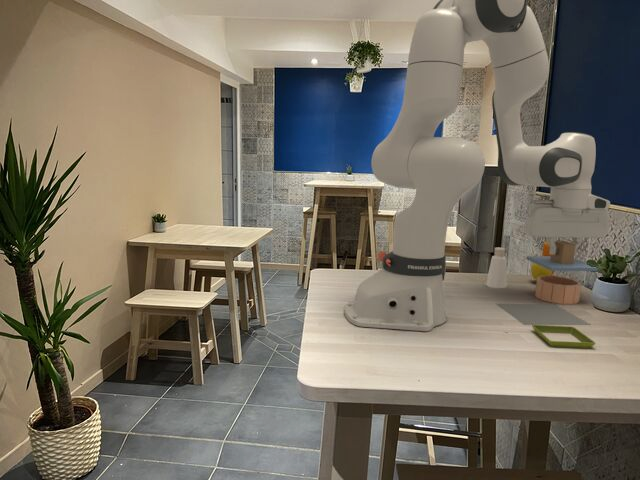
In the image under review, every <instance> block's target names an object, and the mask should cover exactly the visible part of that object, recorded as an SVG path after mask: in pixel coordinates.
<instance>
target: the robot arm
mask: <svg viewBox="0 0 640 480" xmlns="http://www.w3.org/2000/svg"><path fill="white" fill-rule="evenodd" d="M414 27H415V28H414V31H413V34H412V38H411V43H410V48H409V53H408V59H407V60H408V61H407V69H406V75H405V76H406V78H405V86H404V93H403V99H402V105H401V107H400V111H399V114H398V116H397V119H396V121H395V124H394V125H393V127H391V128H392V129H391V130H390V132H389V133H388V135H387V136H386V137H385V138H383V140H382V141H381V142H380V143H378V144H377V146H375V149H374V151H373V153H372V155H371V170H372V174H373V176H374V177H375V179H376V180H378V181H379V182H380V183H383V184H385V185H388V186H390V187H394V188H399V189H400V188H401V189H409V190H411V189H412V190H415V191H416V192H415V195H414V197H413V198H414V199H413V201H412V203H411V204H410V205H409V207H406V208H405V209H403V210H401V211H400V212H399V213H398V214H397V215H396V216H395V218H394V221H393V222H394V223H393V237H392V238H393V239H392V251H390V252H389V253H386V252H385V251H383V250H381V251H379V252H378V253H377V258H378V260H379V261H380V262H382V268H380V270H378V271H376V272H375V273H374V274H372V275H371V276H370V277H369V276H368V278H367V279H365V280H363V281H362V282H360V284H359V285H358V287H357V289H356V291H355V292H356V293H355V297H354V301H348V302H347V303H346V304H345V306H344V309H343V310H344V312H343V313H344V316H345V318H346V319H347V321H349V322H350V323H351V324H353V325H355V326H356V327H364V328H377V329H391V330H402V331H403V330H405V331H406V330H407V331H419V332H430V331H431V330H433V328H434V327H437V326H440V325H443V324H444V323H446V321H447V319H448V318H447V314H446V308H445V302H444V284H443V283H444V281H445V275H446V268H447V261H446V259H447V256H446V254H445V249H446V240H447V239H446V238H447V231H448V225H449V221H450V218H451V215H452V214H453V213H452V212H453V211H454V210H455V209H454V208H455V207H456V205H457V204H458V202H459V201H460V200H461V199H462V197H463V196H464V195H466V194H467V193H468V192H469V191H471V190H472V189H474V188H475V187H476V186H477V185H478V184H479V182H480V181H481V180H482V178H483V175H484V173H485V167H486V166H485V165H486V160H485V156H484V153H483V150H482V148H481V147H480V146H479V144H478V143H477V142H475V141H471V140H468V139H463V138H461V137H455V136H441V137H440V136H435V133H436V131H437V129H438V127H439V125H440V124H441V123H442V122H443V121H444V120H446V119H447V118H448V117H450V116H452V115H453V114H454V113H455V111H456V110H457V108H458V106H459V103H460V95H461V88H462V86H461V85H462V79H463V70H464V58H465V56H464V55H465V48H466V45H467V44H468V43H471V42H478V41H481V40H482V41H483V43H485V45H486V46H487V47H488V53H489V58H490V63H491V67H492V72H493V76H494V91H493V93H492V97H491V108H492V114H493V115H492V116H493V122H494V129H495V137H496V143H497V172H498V175H499V177H500V178H501V180H502V181H503V182H504V183H505V184H506V185H509V186H514V187H515V186H518V187H519V186H529V187H538V188H539V187H542V188H543V187H545V188H550V193H549V199H534V200H532V201H531V202H530V203H529V204H528V205H527V208H526V209H527V215H526V218H525V222H524V227H523V233H524V234H525V235H526V236H528V237H531V238H546V241H547V242H548V244H549V246H550V254H551V255H559V249H560V248H557V247H556V245H555V243H554V242H556V241H558V238H560V239H561V238H563V239H564V238H565V239H567V238H569V239H571V241H572V244H575V245H576V247H575V254H574V256H576V255H577V249H578V248H579V247H580V245H581V244H582V243H583V238H584V239H604V238H605V237H606V236H607V235H608V234H609V229H610V217H611V216H610V212H609V211H608V209H610V206H611V201H610V200H608V199H605V198H603V197H600V196H597V195H594V194H592V176H593V174H594V172H595V166H596V155H597V154H596V152H597V151H596V150H597V149H596V141H595V137H593V136H592V135H590V134H587V133H583V132H577V131H569V132H567V131H565V132H563V133H561V134H560V135H559V137H558V138H557V139H556V140H554V141H552V142H550V143H548V144H545V145H540V146H539V145H538V146H537V145H533V146H532V145H531V146H529V145H528V144H527V143H525V141H524V138H523V130H522V123H521V114H520V113H521V109H522V106H523V104H524V103H525V102H526V101H527V100H528V99H530V98H531V97H533V96H534V95H536V94H537V93H538V92H539V91H540V90H541V89H542V88H543V87H544V85H545V83H547V82H546V81H547V79H548V78H549V74H550V61H549V56H548V52H547V48H546V43H545V41H544V38H543V33H542V31H541V28H540V25H539V23H538V21H537V17H536V16H535V14H534V11H533V10H532V8H531V7H530V6H529V5H528V0H439V1H438V2H437V3H436V5H434V7H433V8H432V9H431V10H428V11H426V12H425V13H422V14H421V16H420V17H419V18H418V20H417V22H416V24H415V26H414ZM557 237H558V238H557Z"/></svg>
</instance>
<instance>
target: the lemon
mask: <svg viewBox="0 0 640 480" xmlns="http://www.w3.org/2000/svg"><path fill="white" fill-rule="evenodd" d="M530 272H531V276H532V278H533V279H534V281H537V277H538V276H543V275H552V271H551V270H549V269H546V268H544V267H542V266H540V265H538V264H536V263H533V262H532V264H531V268H530Z"/></svg>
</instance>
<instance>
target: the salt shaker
mask: <svg viewBox="0 0 640 480" xmlns="http://www.w3.org/2000/svg"><path fill="white" fill-rule="evenodd" d="M505 254H506V248H504V247H499V246H498V247H494V255H492V256H491V259H490V265H489V268H488V269H489V270H488V272H487V273H488V275H487V278H486V283H485V286H487V288H492V289H493V288H494V289H505V288H508V287H507V276H508V275H507V257H506V256H505Z"/></svg>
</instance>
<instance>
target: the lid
mask: <svg viewBox="0 0 640 480" xmlns="http://www.w3.org/2000/svg"><path fill="white" fill-rule="evenodd" d="M554 243H555V245H556V247H557V248H560V249H559V255H551V257H549V256H543V255H542V256H540V255H539V256H538V255H536V256H533V255H531V256H529V255H528V256H526V257H525V258H526V260H527V261H529V262H532V264H533V263H536V264H538V265H540V266H542V267H544V268H546V269H549V270H551V271H555V272H598V271H597V270H598V268H599V267H598V268H596V267H597V266H596V267H591V266H589V265H587V263H588V262H585V261H583V260H580V259H577V258H575V255H574V254H575V247H576V245H575V244H572V243H573V242H572V243H571V242H569V241H566V240H557V241H556V242H554Z"/></svg>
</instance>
